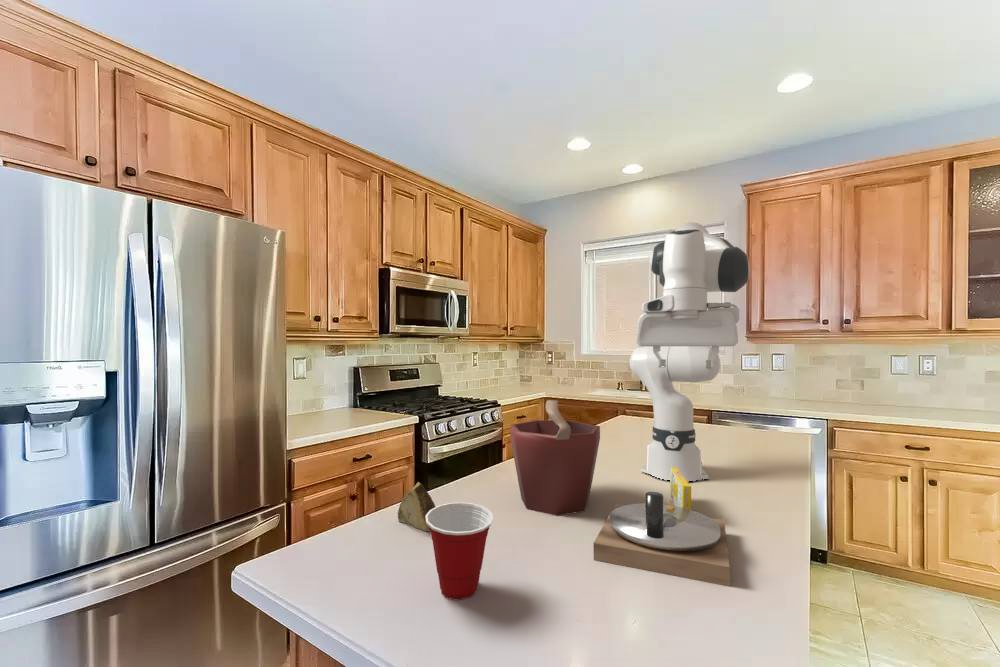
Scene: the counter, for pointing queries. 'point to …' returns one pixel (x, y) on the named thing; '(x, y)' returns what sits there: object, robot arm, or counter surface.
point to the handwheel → (664, 525)
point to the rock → (416, 507)
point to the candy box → (679, 490)
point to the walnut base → (666, 556)
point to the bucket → (555, 462)
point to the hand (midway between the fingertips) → (685, 367)
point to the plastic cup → (459, 545)
